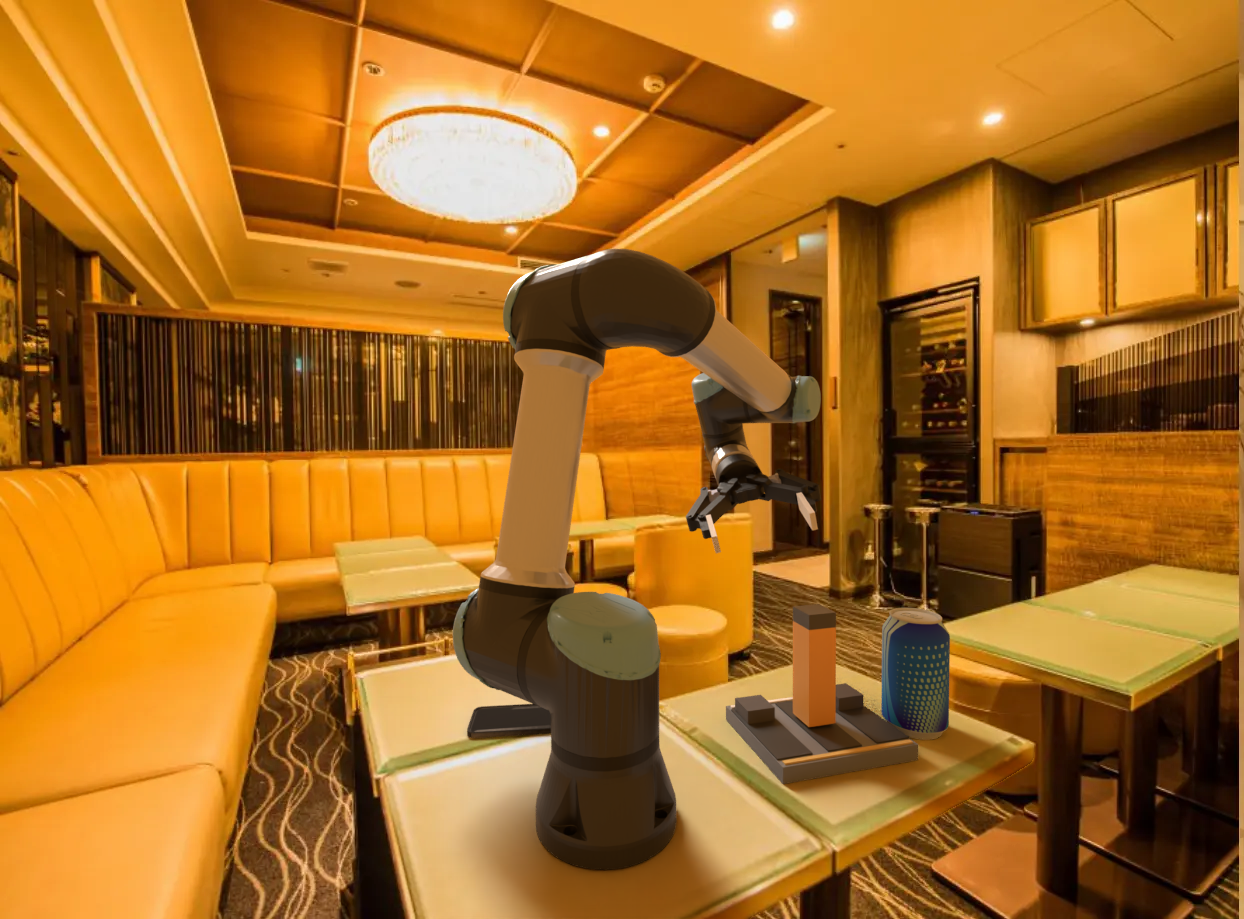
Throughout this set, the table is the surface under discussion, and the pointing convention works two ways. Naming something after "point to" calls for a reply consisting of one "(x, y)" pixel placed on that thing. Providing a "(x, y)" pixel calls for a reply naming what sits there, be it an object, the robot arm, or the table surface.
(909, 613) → the beer can
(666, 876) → the table surface
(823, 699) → the orange lever
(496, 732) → the phone
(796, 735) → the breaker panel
